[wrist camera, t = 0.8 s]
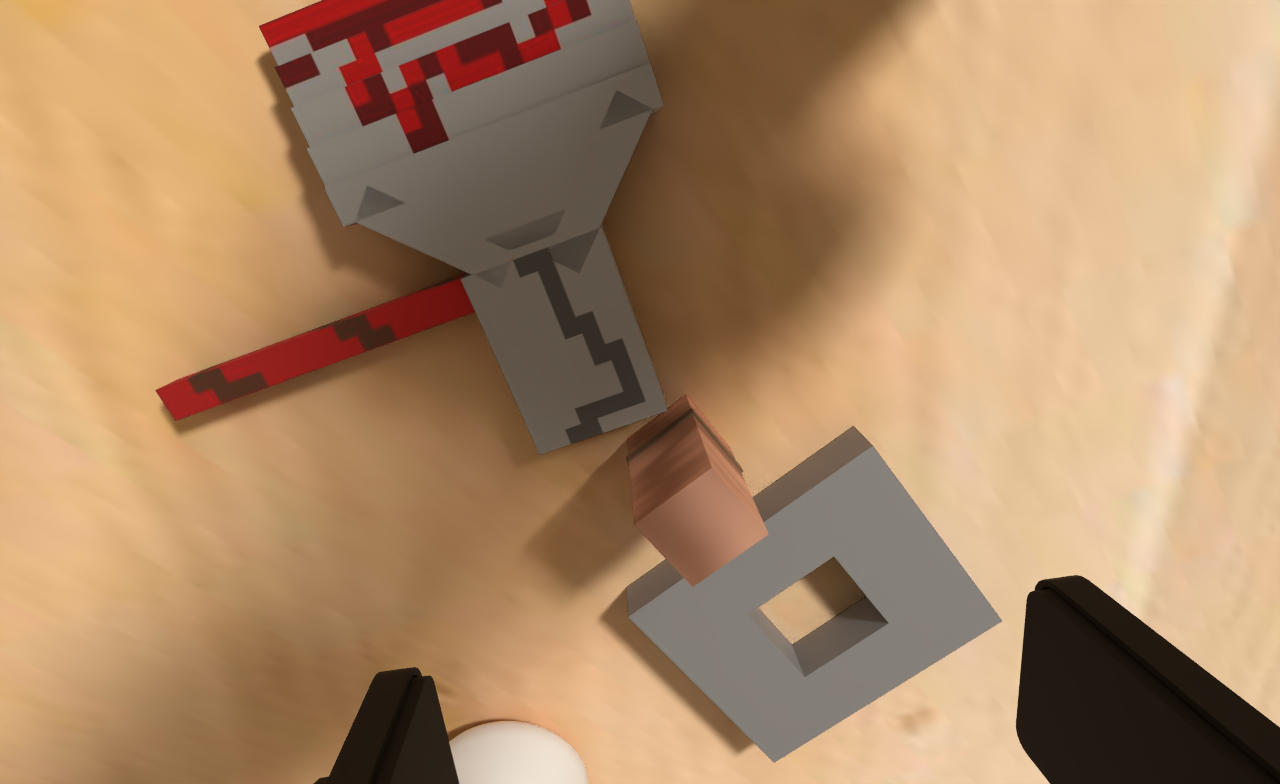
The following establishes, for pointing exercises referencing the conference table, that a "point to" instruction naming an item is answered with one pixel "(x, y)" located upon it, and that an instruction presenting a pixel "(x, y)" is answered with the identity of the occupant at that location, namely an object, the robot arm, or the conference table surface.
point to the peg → (690, 493)
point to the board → (844, 646)
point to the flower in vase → (515, 755)
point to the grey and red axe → (475, 191)
